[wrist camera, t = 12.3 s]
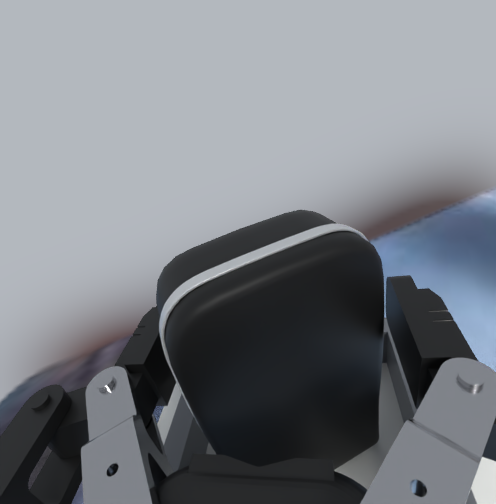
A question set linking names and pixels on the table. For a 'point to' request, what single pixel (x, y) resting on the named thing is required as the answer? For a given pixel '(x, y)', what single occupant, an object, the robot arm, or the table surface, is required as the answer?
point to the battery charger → (278, 339)
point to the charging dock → (359, 468)
